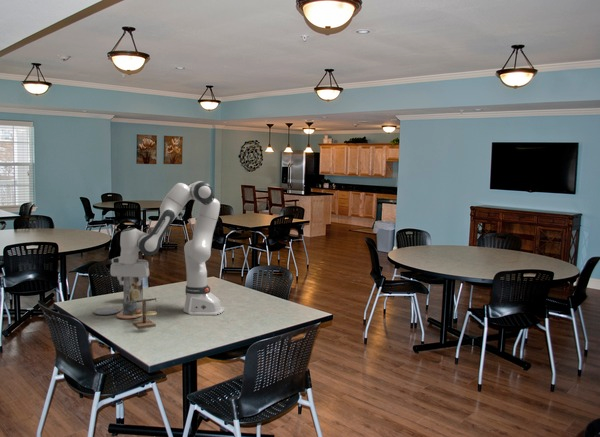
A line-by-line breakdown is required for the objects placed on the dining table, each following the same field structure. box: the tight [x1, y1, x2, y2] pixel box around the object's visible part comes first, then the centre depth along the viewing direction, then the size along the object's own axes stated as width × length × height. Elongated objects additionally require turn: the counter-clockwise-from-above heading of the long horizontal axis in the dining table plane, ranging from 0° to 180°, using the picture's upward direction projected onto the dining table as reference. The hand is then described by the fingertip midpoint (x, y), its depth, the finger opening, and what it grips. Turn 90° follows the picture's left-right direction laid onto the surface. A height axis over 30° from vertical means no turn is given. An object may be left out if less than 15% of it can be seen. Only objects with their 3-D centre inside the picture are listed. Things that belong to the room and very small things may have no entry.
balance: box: [132, 297, 158, 330], centre depth 258 cm, size 23×8×15 cm, turn 37°
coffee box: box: [122, 277, 144, 303], centre depth 303 cm, size 9×6×16 cm
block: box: [122, 302, 137, 316], centre depth 273 cm, size 5×5×6 cm
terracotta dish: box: [116, 311, 141, 320], centre depth 274 cm, size 13×13×1 cm
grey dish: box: [93, 306, 121, 316], centre depth 280 cm, size 13×13×1 cm
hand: (130, 285), depth 272 cm, fingers open, 8 cm apart
